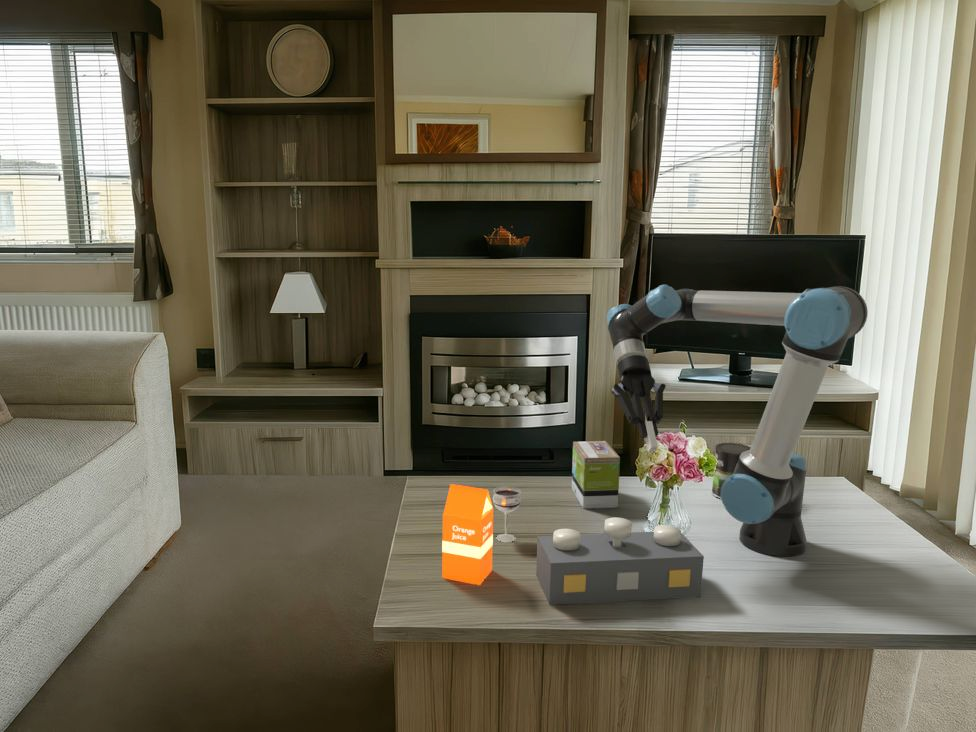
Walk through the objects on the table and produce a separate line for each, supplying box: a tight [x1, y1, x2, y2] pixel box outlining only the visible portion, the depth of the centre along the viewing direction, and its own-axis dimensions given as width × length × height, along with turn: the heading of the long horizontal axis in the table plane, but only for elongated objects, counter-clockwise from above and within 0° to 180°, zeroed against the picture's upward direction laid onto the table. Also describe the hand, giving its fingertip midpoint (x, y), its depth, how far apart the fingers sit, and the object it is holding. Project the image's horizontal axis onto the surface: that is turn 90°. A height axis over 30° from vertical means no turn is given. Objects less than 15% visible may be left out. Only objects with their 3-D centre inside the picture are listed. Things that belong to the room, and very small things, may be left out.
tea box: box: [571, 440, 621, 510], centre depth 209 cm, size 15×10×15 cm
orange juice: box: [441, 483, 494, 586], centre depth 163 cm, size 8×9×20 cm
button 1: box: [552, 528, 581, 551], centre depth 159 cm, size 6×6×7 cm
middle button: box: [603, 516, 633, 547], centre depth 160 cm, size 6×6×7 cm
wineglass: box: [492, 485, 522, 543], centre depth 182 cm, size 7×7×12 cm
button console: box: [535, 531, 705, 606], centre depth 160 cm, size 32×13×9 cm, turn 98°
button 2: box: [653, 524, 682, 546], centre depth 162 cm, size 6×6×7 cm
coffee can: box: [711, 442, 751, 500], centre depth 214 cm, size 10×10×14 cm
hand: (652, 449), depth 170 cm, fingers closed
